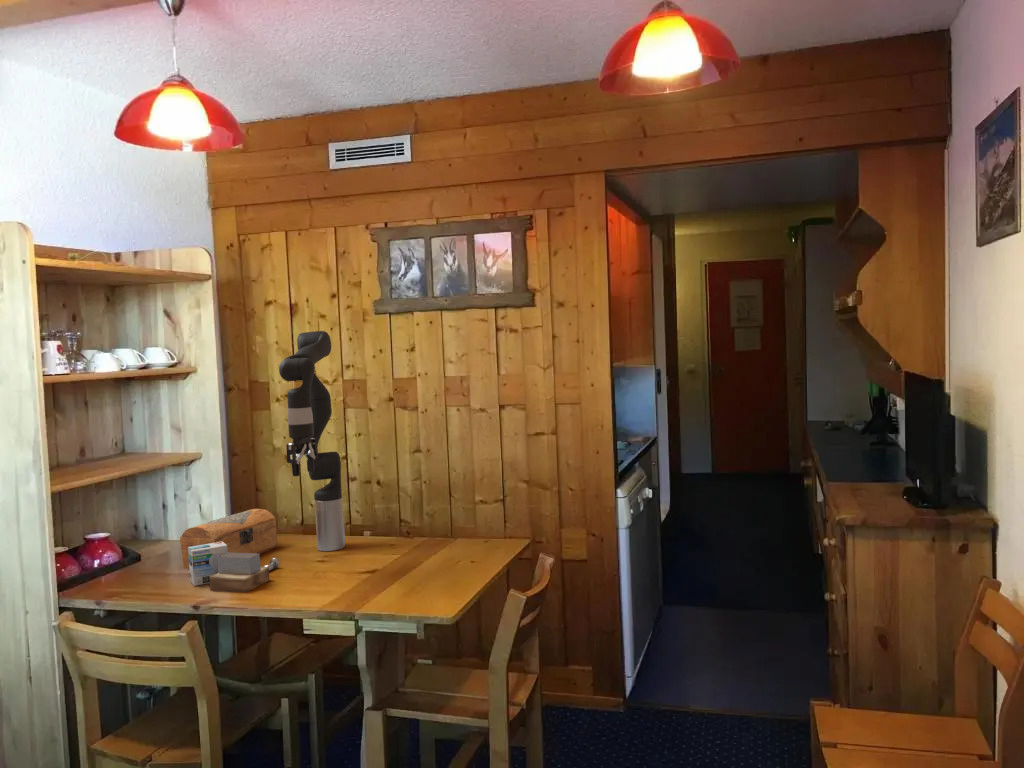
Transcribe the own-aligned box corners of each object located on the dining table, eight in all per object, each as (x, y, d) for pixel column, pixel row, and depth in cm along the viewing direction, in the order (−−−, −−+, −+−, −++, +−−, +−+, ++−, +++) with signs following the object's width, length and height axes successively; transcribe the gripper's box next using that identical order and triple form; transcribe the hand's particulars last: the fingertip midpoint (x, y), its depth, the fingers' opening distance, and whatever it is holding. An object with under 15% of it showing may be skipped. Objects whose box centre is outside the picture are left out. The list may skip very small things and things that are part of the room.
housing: (260, 570, 242) (259, 553, 242) (250, 575, 238) (249, 558, 237) (229, 568, 246) (228, 552, 245) (218, 573, 241) (217, 556, 241)
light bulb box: (193, 586, 243) (191, 551, 242) (189, 581, 248) (186, 546, 248) (230, 579, 248) (228, 544, 248) (225, 574, 254) (223, 540, 254)
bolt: (271, 567, 260) (271, 557, 260) (280, 567, 259) (279, 557, 259) (260, 572, 254) (259, 562, 254) (269, 573, 253) (268, 563, 253)
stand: (235, 578, 249) (234, 565, 249) (269, 579, 246) (268, 566, 246) (210, 590, 238) (209, 577, 238) (245, 592, 234) (244, 578, 234)
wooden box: (219, 571, 259) (216, 528, 258) (180, 568, 265) (177, 525, 265) (281, 547, 286) (279, 508, 285) (245, 544, 293) (242, 506, 292)
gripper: (298, 424, 246) (302, 477, 247) (323, 419, 260) (326, 469, 260) (277, 425, 248) (280, 477, 249) (302, 419, 262) (305, 469, 263)
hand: (303, 473), depth 255 cm, fingers open, 8 cm apart
